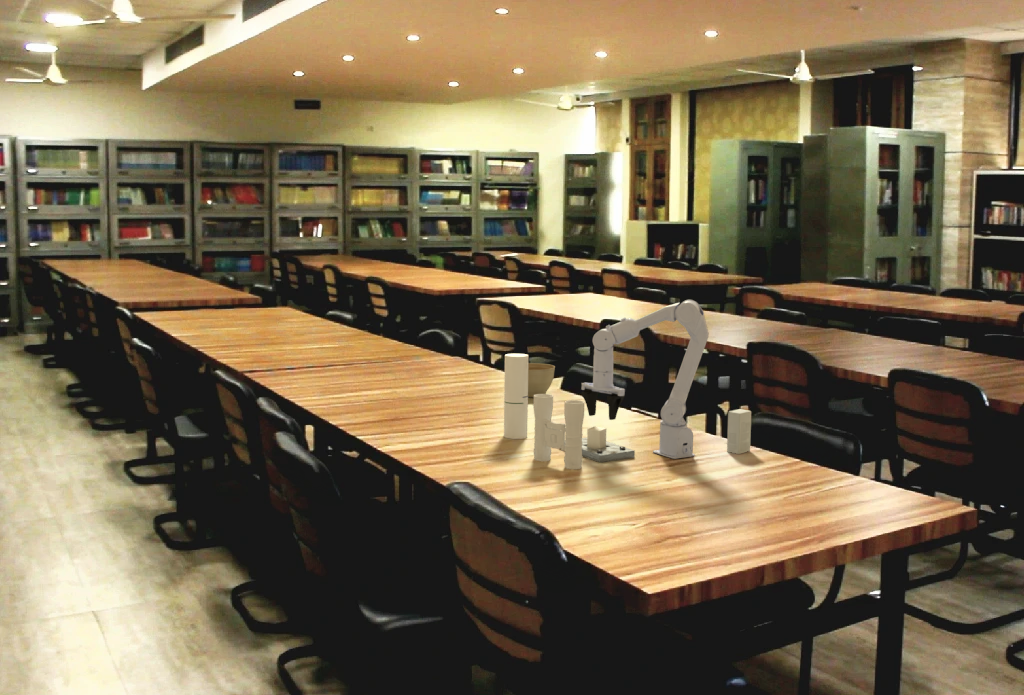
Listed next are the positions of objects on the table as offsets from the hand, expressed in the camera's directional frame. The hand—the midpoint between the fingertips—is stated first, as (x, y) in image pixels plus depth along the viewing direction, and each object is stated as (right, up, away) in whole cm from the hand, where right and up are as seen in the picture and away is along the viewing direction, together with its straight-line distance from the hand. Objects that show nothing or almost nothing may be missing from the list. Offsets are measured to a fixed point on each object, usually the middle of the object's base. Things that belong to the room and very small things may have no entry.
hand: (602, 417), depth 308 cm
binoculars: (-14, -12, -16) cm, 24 cm away
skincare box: (+39, -10, 0) cm, 41 cm away
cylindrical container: (-25, -7, +16) cm, 31 cm away
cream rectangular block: (-2, -10, -3) cm, 10 cm away
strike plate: (-2, -10, -3) cm, 11 cm away
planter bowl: (-18, +2, +85) cm, 87 cm away
